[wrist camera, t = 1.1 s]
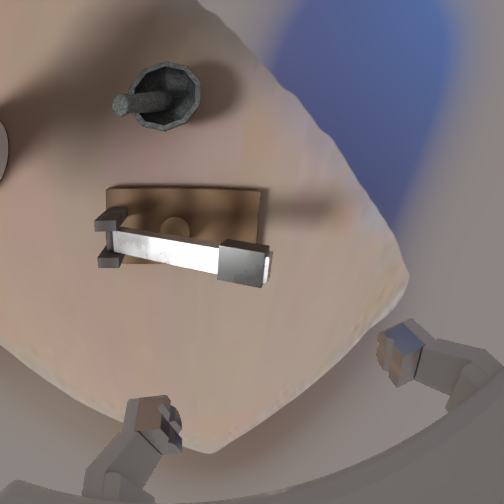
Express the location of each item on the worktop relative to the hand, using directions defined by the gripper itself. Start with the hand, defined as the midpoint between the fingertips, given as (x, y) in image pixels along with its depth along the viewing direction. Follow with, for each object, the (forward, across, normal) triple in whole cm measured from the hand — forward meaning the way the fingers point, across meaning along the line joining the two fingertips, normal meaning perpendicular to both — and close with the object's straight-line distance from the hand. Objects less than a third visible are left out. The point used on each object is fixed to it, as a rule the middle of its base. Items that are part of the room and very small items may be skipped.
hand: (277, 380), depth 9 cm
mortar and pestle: (+37, +5, -17) cm, 41 cm away
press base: (+37, +7, +2) cm, 38 cm away
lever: (+26, +5, +3) cm, 26 cm away
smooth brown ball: (+35, +8, +2) cm, 36 cm away
